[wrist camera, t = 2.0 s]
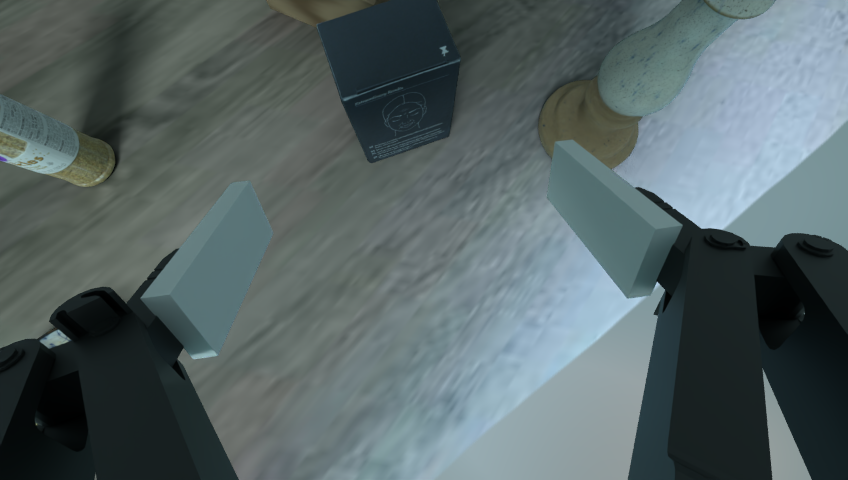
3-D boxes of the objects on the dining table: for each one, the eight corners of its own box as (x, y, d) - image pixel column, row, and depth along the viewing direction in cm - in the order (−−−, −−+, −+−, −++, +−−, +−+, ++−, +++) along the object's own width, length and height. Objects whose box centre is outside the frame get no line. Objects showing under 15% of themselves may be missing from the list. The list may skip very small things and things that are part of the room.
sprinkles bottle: (67, 190, 30) (-222, 111, 16) (68, 142, 30) (-208, 28, 17) (119, 185, 30) (-127, 102, 16) (119, 137, 30) (-116, 19, 17)
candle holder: (519, 143, 31) (707, -133, 10) (566, 69, 32) (818, -310, 12) (603, 193, 30) (974, 2, 10) (648, 116, 31) (1065, -197, 11)
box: (428, 84, 31) (432, -18, 21) (449, 138, 31) (464, 60, 20) (349, 110, 31) (312, 20, 20) (368, 165, 30) (340, 101, 20)
